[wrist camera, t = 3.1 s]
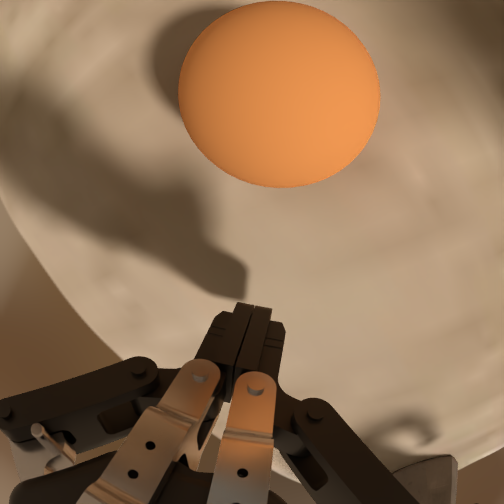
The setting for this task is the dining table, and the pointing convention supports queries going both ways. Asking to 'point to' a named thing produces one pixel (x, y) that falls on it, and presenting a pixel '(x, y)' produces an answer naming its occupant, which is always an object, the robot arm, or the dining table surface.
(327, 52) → the ball
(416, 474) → the coffeepot
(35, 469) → the robot arm
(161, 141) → the dining table surface
